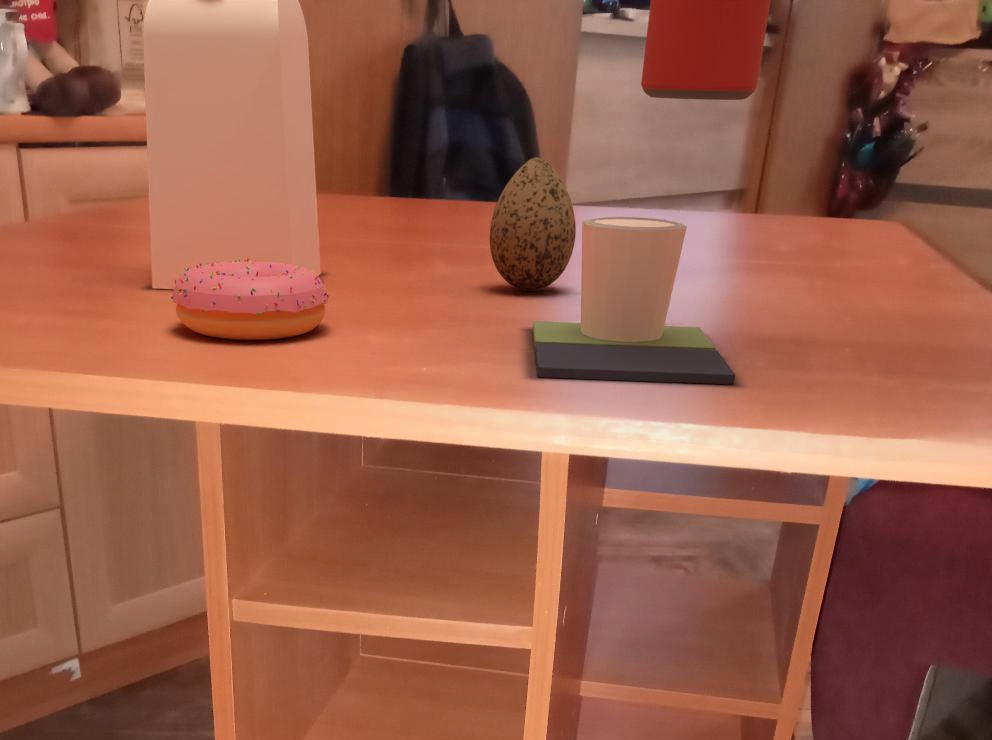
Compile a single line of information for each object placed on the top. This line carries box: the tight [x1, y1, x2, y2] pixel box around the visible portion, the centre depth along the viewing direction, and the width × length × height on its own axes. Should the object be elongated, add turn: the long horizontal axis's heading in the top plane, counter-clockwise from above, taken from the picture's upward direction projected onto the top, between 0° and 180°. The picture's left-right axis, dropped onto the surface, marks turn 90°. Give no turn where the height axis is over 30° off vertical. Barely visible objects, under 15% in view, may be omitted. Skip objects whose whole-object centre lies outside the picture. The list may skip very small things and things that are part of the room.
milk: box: [142, 0, 322, 290], centre depth 93 cm, size 12×12×26 cm
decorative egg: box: [489, 156, 577, 292], centre depth 96 cm, size 7×7×10 cm
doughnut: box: [170, 258, 330, 341], centre depth 81 cm, size 11×11×4 cm
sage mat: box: [532, 320, 716, 350], centre depth 80 cm, size 12×7×1 cm, turn 85°
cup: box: [580, 216, 688, 342], centre depth 78 cm, size 7×7×7 cm
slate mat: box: [534, 344, 736, 385], centre depth 73 cm, size 12×7×1 cm, turn 85°
